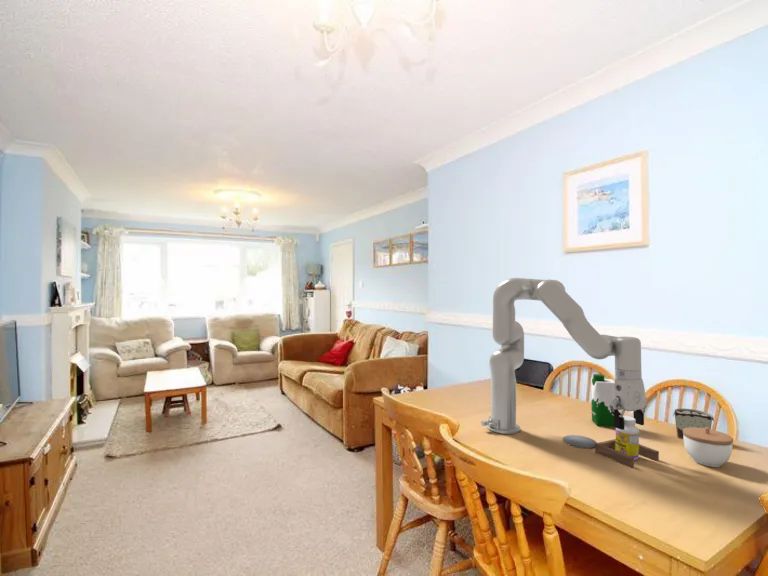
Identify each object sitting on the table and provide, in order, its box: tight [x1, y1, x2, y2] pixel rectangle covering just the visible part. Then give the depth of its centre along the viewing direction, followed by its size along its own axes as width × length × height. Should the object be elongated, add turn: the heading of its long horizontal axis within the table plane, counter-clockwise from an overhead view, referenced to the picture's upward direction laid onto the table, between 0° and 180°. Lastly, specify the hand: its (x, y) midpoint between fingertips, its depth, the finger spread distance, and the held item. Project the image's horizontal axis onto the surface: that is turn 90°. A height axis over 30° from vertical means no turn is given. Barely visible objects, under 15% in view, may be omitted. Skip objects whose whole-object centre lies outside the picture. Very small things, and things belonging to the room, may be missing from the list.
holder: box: [594, 438, 660, 469], centre depth 133 cm, size 13×13×3 cm
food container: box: [672, 408, 715, 440], centre depth 151 cm, size 12×6×10 cm, turn 65°
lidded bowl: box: [682, 427, 734, 468], centre depth 129 cm, size 13×13×11 cm
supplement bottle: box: [615, 415, 640, 461], centre depth 133 cm, size 7×7×13 cm
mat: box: [562, 434, 598, 450], centre depth 145 cm, size 11×11×1 cm
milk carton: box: [590, 373, 615, 428], centre depth 165 cm, size 9×9×20 cm
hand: (629, 426), depth 133 cm, fingers open, 9 cm apart
